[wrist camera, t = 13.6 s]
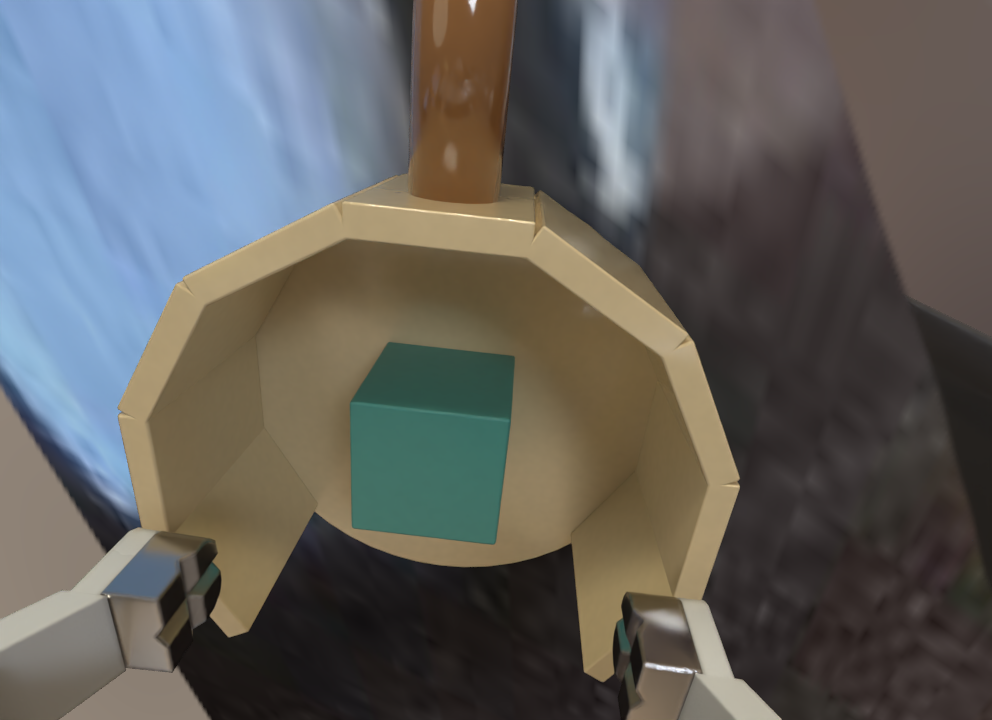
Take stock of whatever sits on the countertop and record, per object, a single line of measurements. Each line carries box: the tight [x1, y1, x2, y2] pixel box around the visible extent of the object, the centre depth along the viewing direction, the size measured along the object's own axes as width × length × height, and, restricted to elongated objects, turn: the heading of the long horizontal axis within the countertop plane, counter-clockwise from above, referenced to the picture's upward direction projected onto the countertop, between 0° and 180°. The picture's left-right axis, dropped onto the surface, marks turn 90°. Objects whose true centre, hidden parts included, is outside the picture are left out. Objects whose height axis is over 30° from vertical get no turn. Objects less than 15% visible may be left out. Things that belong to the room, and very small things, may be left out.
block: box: [350, 342, 515, 545], centre depth 16 cm, size 4×4×4 cm
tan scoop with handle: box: [118, 0, 740, 682], centre depth 14 cm, size 14×21×6 cm, turn 174°
